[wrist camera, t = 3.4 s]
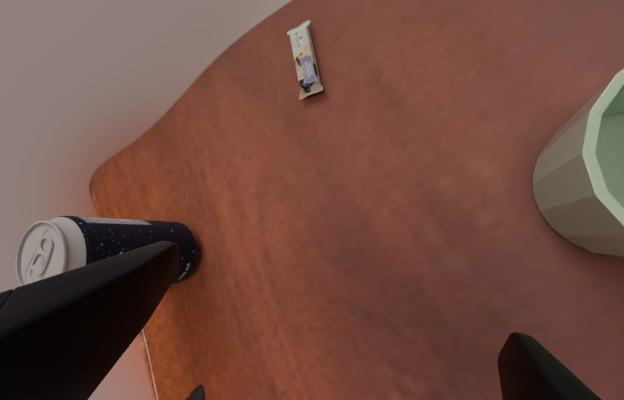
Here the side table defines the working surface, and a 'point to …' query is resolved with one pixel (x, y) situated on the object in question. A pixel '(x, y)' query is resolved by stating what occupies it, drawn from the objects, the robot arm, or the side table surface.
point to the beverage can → (94, 244)
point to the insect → (197, 394)
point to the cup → (587, 174)
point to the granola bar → (305, 60)
